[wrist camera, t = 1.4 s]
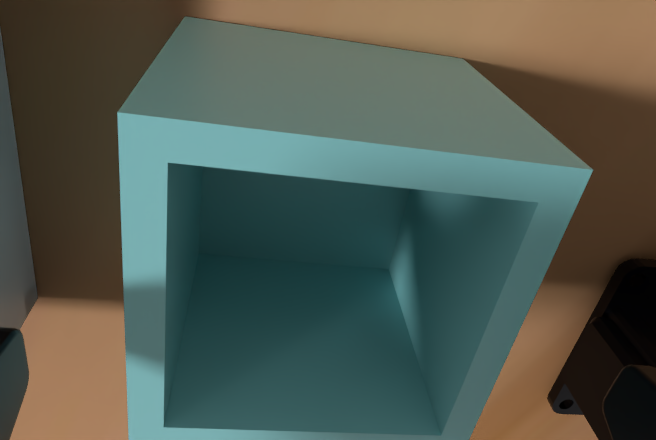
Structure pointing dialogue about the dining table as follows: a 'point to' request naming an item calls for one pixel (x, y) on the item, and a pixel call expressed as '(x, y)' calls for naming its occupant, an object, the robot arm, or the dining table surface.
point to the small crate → (326, 237)
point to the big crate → (12, 222)
